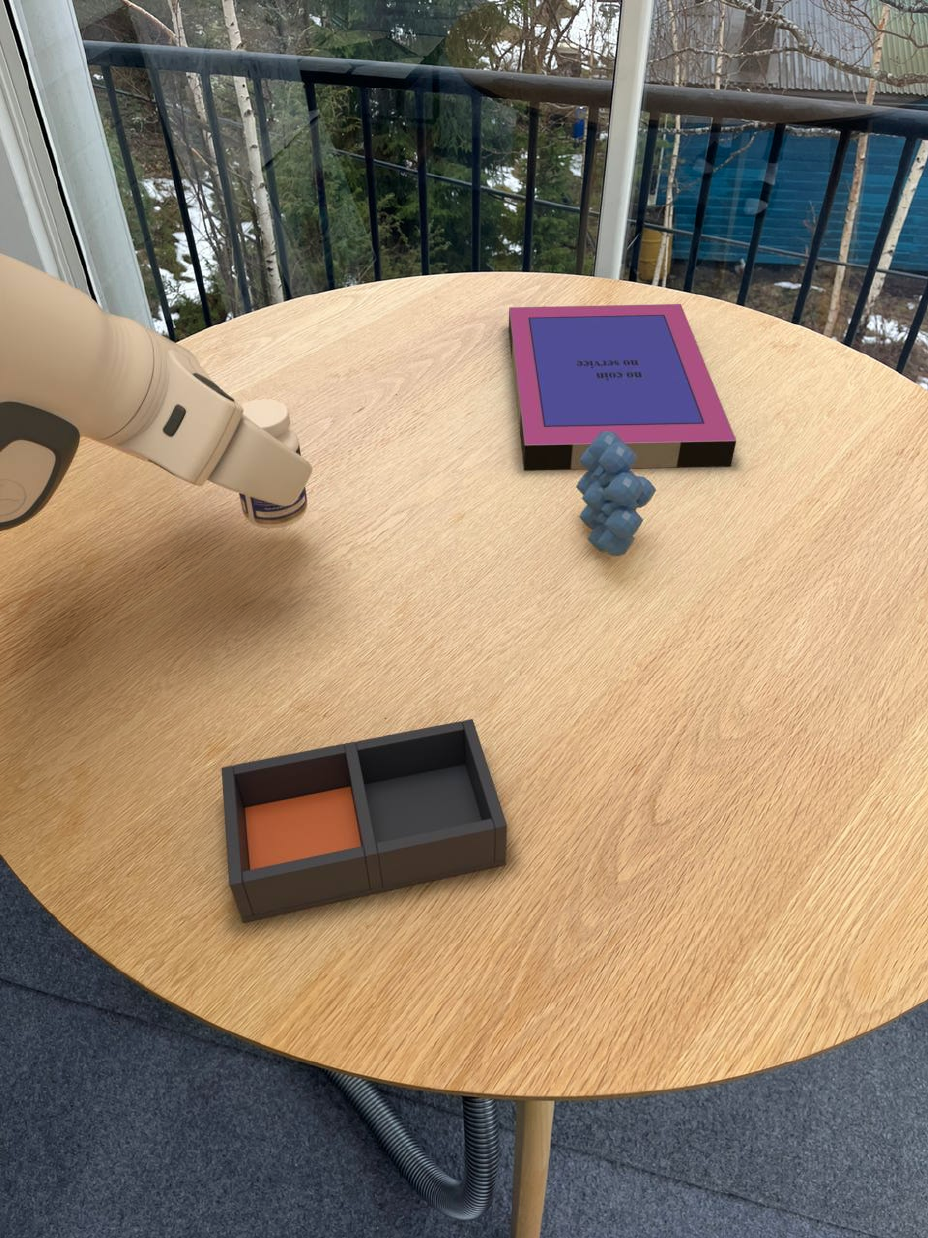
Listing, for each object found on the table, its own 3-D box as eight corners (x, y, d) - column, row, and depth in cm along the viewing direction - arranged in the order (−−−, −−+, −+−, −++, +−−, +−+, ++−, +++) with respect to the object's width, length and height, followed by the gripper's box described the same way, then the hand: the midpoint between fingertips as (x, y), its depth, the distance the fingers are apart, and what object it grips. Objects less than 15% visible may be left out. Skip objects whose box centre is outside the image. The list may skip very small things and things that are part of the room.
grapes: (668, 583, 83) (690, 470, 74) (594, 593, 82) (607, 480, 73) (629, 504, 91) (644, 394, 82) (561, 512, 90) (569, 402, 82)
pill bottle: (321, 504, 84) (309, 406, 77) (281, 538, 80) (264, 439, 73) (270, 485, 86) (254, 388, 79) (229, 518, 82) (208, 419, 76)
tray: (242, 923, 60) (229, 885, 57) (233, 806, 66) (221, 767, 63) (505, 864, 63) (507, 825, 59) (473, 758, 69) (472, 718, 66)
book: (680, 303, 115) (736, 440, 93) (677, 326, 117) (730, 466, 95) (509, 307, 115) (524, 445, 93) (508, 330, 117) (523, 470, 95)
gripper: (57, 380, 74) (190, 440, 86) (198, 492, 63) (328, 542, 75) (94, 309, 73) (223, 379, 85) (243, 409, 62) (367, 473, 74)
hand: (273, 456), depth 80 cm, fingers closed on pill bottle, 6 cm apart
